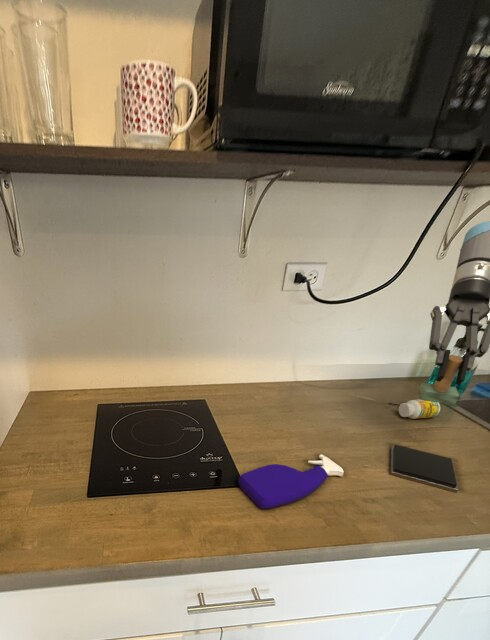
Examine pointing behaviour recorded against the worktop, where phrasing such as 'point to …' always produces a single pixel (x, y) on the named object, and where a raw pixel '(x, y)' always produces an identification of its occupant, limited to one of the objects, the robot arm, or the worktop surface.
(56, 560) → the worktop surface
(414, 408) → the supplement bottle
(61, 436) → the worktop surface
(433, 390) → the brush
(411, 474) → the flat black square slab
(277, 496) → the spray bottle
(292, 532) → the worktop surface
